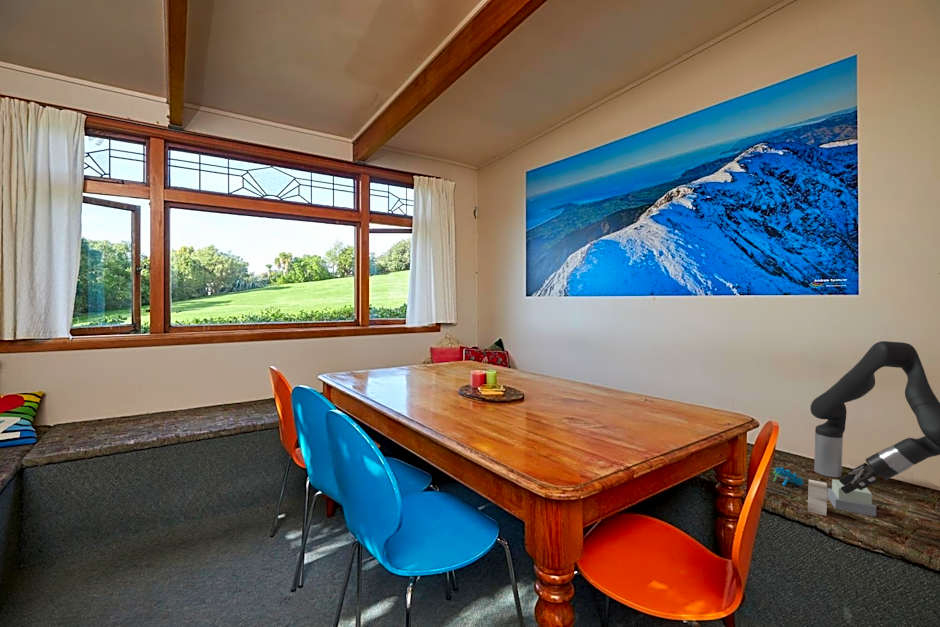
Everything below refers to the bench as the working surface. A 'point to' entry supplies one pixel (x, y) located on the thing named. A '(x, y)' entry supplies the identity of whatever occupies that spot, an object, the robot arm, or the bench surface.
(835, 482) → the tower top
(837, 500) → the tower base
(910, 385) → the robot arm
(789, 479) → the blue toy dinosaur
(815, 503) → the cream block
